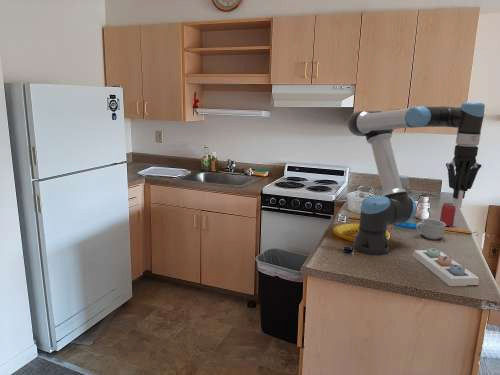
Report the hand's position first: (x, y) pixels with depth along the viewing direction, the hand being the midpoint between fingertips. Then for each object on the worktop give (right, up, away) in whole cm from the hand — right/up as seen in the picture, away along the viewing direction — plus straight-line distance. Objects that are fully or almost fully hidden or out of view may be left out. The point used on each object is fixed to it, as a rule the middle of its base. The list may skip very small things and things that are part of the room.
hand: (456, 206), depth 147 cm
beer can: (+27, -13, +61) cm, 68 cm away
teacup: (+9, -17, +42) cm, 47 cm away
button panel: (-2, -26, +6) cm, 26 cm away
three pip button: (-2, -24, +6) cm, 24 cm away
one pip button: (-3, -22, +13) cm, 26 cm away
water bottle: (+3, -11, +66) cm, 67 cm away
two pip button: (-1, -26, -2) cm, 26 cm away
